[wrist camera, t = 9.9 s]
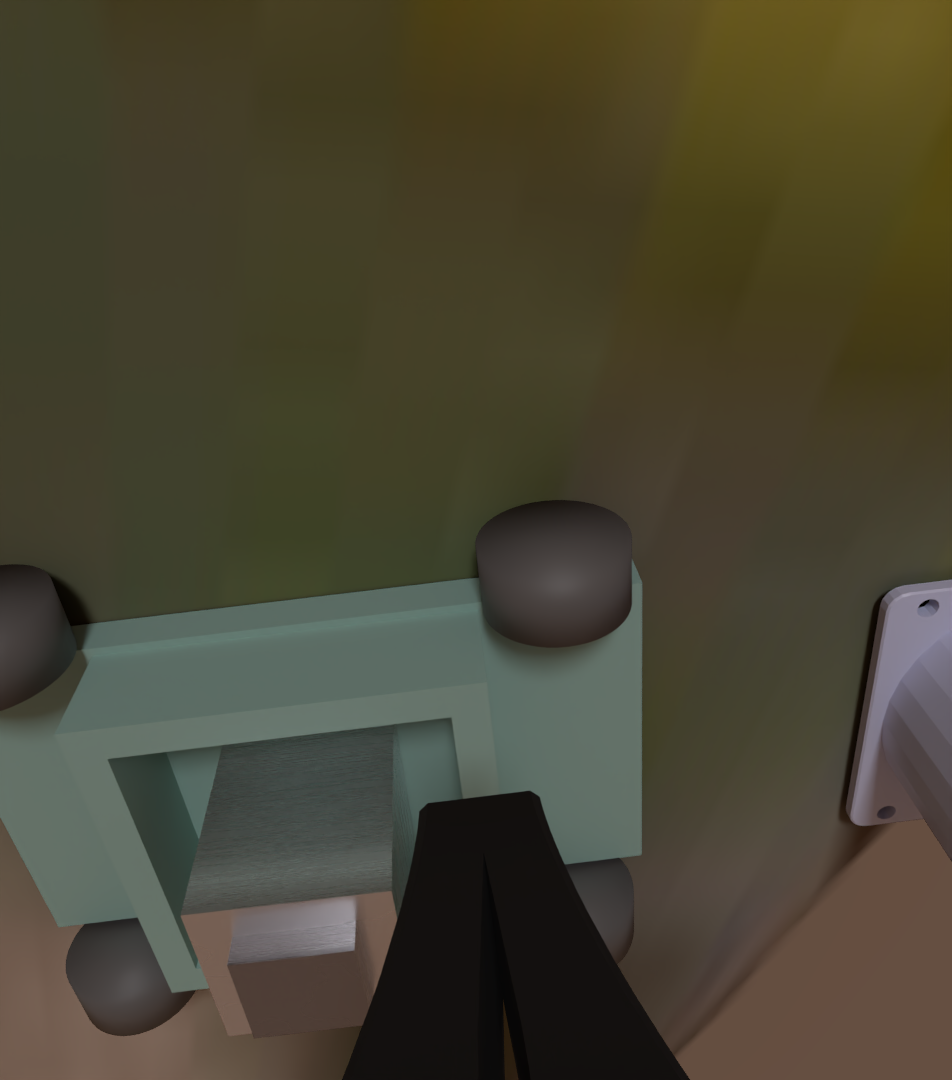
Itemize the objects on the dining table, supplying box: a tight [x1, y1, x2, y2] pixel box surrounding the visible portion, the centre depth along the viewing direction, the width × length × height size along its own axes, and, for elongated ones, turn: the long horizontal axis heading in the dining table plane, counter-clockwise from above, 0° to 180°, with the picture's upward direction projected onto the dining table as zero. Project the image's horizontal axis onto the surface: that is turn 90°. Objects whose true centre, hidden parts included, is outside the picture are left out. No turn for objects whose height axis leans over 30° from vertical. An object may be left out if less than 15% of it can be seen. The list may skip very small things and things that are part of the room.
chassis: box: [0, 500, 642, 1036], centre depth 21 cm, size 16×13×4 cm
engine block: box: [180, 724, 414, 1038], centre depth 20 cm, size 4×4×6 cm
